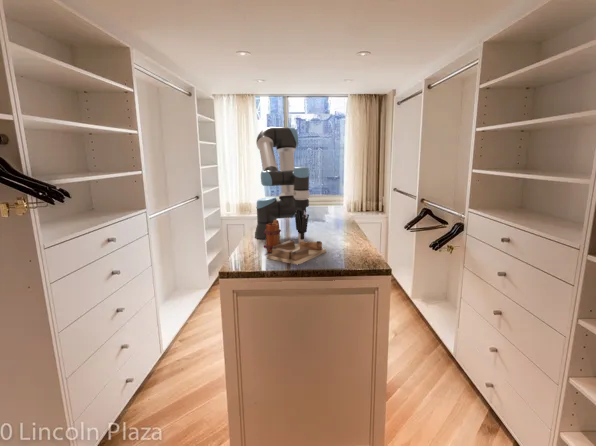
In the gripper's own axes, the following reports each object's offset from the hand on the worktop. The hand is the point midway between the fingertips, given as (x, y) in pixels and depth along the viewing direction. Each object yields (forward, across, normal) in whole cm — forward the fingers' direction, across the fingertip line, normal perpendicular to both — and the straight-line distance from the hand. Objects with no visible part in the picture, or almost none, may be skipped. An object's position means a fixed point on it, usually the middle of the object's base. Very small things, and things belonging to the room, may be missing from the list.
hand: (301, 245), depth 164 cm
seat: (+3, +5, -5) cm, 8 cm away
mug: (+3, -7, -12) cm, 14 cm away
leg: (+1, +4, +3) cm, 6 cm away
